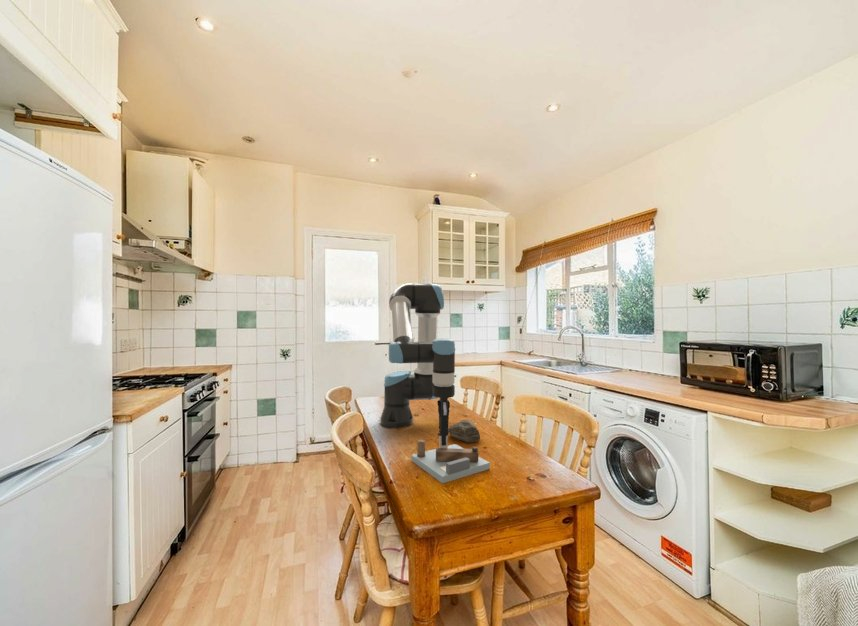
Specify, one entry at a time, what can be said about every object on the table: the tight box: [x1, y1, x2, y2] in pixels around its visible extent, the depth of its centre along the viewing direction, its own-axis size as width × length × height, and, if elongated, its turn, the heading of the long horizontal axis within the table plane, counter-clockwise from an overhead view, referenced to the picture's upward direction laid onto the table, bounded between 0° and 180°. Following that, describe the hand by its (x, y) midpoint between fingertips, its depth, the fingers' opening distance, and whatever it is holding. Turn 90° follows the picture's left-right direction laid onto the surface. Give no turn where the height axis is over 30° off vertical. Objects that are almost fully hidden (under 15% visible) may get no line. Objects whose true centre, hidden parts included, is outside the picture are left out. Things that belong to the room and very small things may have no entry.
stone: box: [448, 419, 481, 444], centre depth 142 cm, size 14×10×10 cm
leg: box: [435, 446, 479, 462], centre depth 116 cm, size 14×3×4 cm, turn 87°
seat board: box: [410, 439, 491, 484], centre depth 117 cm, size 19×19×7 cm
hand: (443, 453), depth 118 cm, fingers closed
